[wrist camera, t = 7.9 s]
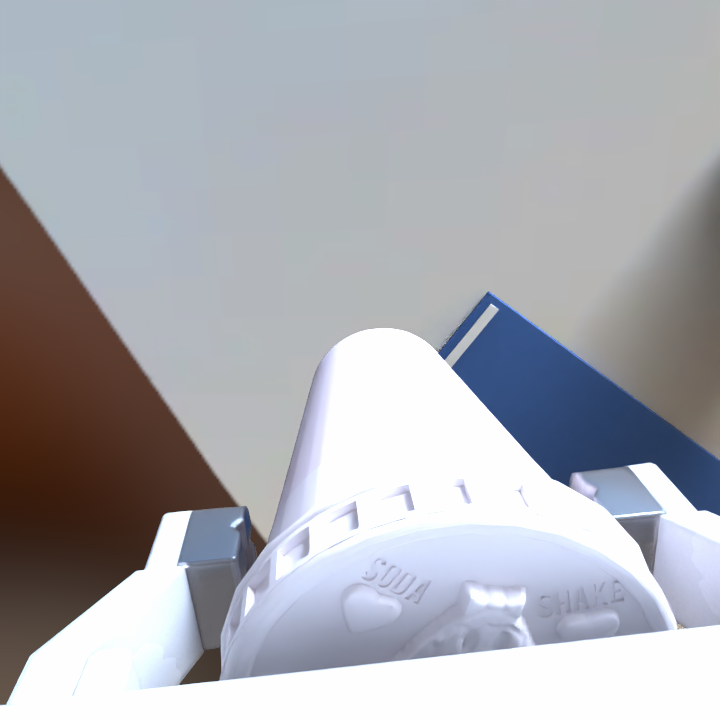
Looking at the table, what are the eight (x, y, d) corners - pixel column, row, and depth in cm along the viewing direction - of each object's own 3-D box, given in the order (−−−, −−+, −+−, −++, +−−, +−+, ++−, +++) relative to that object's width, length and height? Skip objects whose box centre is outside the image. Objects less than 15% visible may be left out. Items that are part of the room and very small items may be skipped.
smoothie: (244, 480, 19) (108, 1385, 6) (277, 256, 16) (170, 948, 3) (466, 507, 20) (778, 1341, 7) (528, 297, 17) (1197, 969, 4)
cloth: (488, 290, 33) (490, 293, 33) (772, 498, 39) (777, 503, 39) (324, 492, 37) (325, 498, 36) (606, 653, 43) (610, 659, 43)
